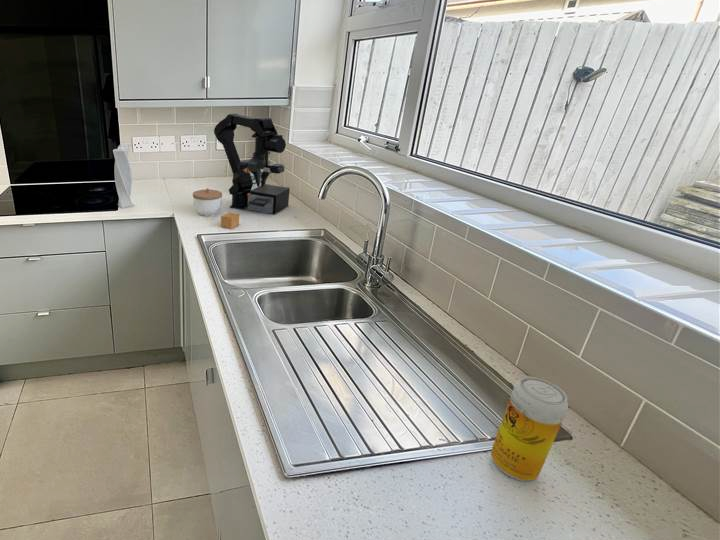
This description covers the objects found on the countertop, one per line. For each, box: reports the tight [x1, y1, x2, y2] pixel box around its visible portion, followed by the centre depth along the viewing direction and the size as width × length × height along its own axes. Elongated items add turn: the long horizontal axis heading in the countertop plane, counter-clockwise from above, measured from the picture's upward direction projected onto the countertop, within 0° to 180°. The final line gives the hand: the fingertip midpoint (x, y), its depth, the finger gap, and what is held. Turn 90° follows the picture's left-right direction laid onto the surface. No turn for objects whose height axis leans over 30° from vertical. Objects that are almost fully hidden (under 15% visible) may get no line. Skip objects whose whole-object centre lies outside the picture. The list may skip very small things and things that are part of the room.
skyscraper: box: [112, 142, 134, 209], centre depth 182 cm, size 8×8×28 cm
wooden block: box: [220, 211, 240, 230], centre depth 161 cm, size 5×6×4 cm
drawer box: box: [248, 183, 290, 215], centre depth 182 cm, size 15×13×9 cm
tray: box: [247, 193, 274, 215], centre depth 179 cm, size 18×11×7 cm, turn 147°
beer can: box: [490, 376, 569, 482], centre depth 60 cm, size 6×6×15 cm
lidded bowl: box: [192, 188, 223, 217], centre depth 174 cm, size 13×13×11 cm
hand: (260, 186), depth 171 cm, fingers closed
